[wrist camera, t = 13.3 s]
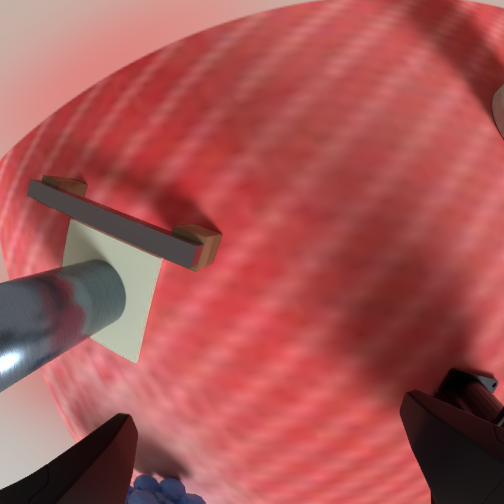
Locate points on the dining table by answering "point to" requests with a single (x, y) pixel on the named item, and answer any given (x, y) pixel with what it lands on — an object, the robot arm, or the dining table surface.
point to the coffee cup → (499, 109)
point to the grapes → (160, 492)
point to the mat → (132, 275)
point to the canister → (54, 314)
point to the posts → (187, 230)
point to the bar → (119, 224)
